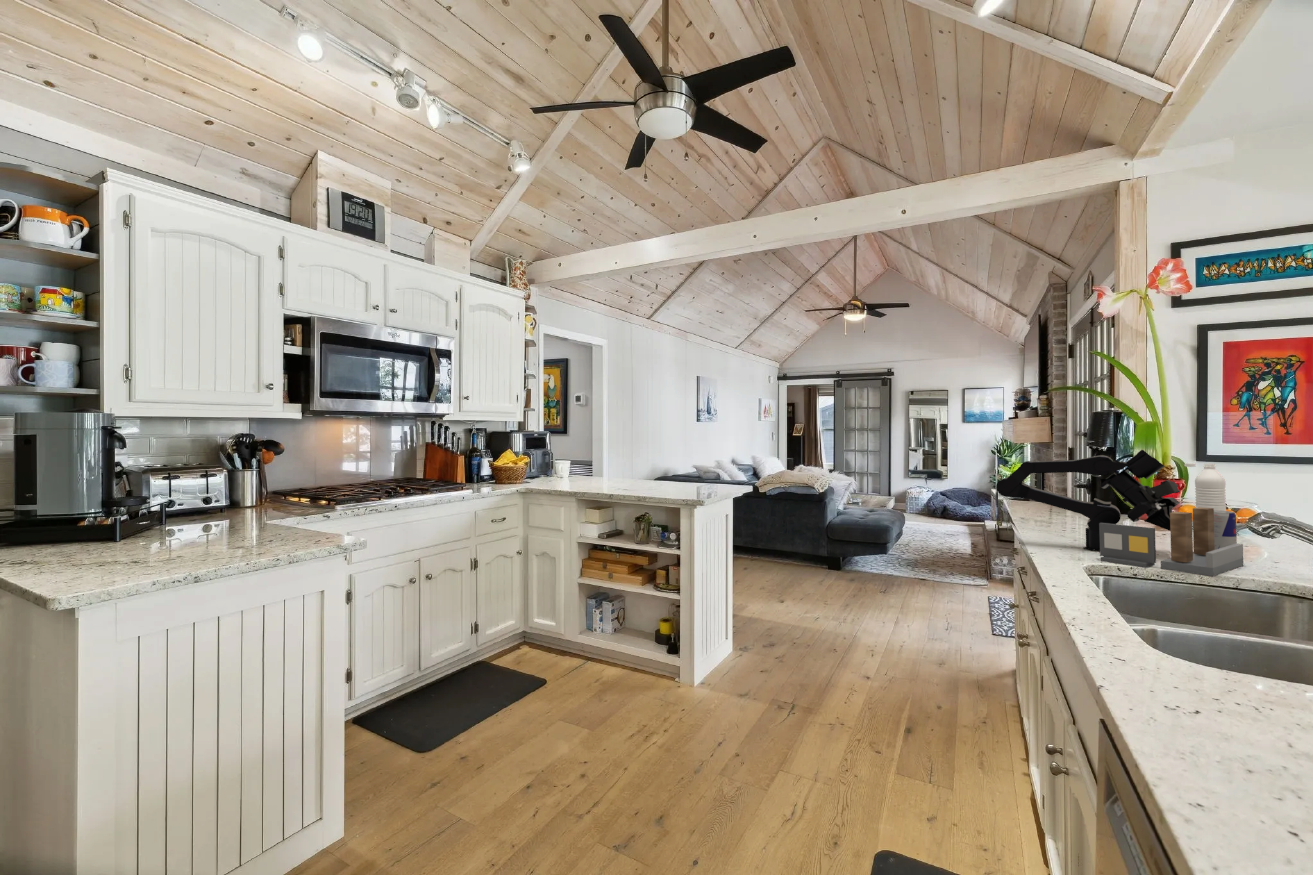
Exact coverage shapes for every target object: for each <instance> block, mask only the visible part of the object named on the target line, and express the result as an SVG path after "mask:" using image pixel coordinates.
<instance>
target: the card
mask: <svg viewBox="0 0 1313 875" xmlns="http://www.w3.org/2000/svg"><path fill="white" fill-rule="evenodd" d="M1099 533H1100V551H1099V556H1100V562H1105V563H1106V562H1107V563H1113V564H1119V565H1124V566H1125V565H1126V566H1132V567H1140V568H1145V569H1146V568H1149V567H1153V566H1155V564H1157V560H1156V559H1157V554H1156V552H1157V551H1156V550H1157V549H1156V546H1157V545H1156V528H1155V527H1146V526H1138V525H1137V526H1134V525H1128V524H1127V525H1126V524H1118V523H1117V524H1108V523H1099Z"/></svg>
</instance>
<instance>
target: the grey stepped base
mask: <svg viewBox="0 0 1313 875" xmlns="http://www.w3.org/2000/svg"><path fill="white" fill-rule="evenodd" d="M1243 565H1244V544H1243V543H1236V544H1233V545H1230V546H1226V547H1223V548H1220V549H1217V550H1213V551H1210V552H1207V553H1206V555H1200V554H1194V551H1193V561H1190V562H1187V563H1186V562H1179V561H1172V560H1171V557H1169V558H1165V559H1162V560H1160V569H1161V570H1166V571H1167V570H1168V571H1175V572H1181V573H1187V574H1193V575H1202V576H1208V577H1215V576H1218V575H1221V574H1224V573H1227V572H1229V571H1228V570H1230V571H1232V570H1235V569H1238V568H1240V567H1243ZM1223 572H1224V573H1223Z"/></svg>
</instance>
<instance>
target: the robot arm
mask: <svg viewBox="0 0 1313 875" xmlns="http://www.w3.org/2000/svg"><path fill="white" fill-rule="evenodd" d="M1164 468H1165V465H1164V464H1163V463H1161V461H1159V460H1158V459H1157V458H1155V457H1154V456H1152V455H1150V454H1149V453H1147V451H1145V450H1144V449H1141V450H1139V451H1138V452H1137V453H1136V454H1135V455H1134V456H1132V457H1131V458H1130V459H1128V460H1127V461H1123V460H1121V461H1120V460H1115V459H1114V460H1113V459H1112V458H1111V457H1109V456H1107V455H1103V454H1101V455H1095V456H1089V457H1085V458H1080V459H1079V458H1078V459H1074V460H1073V459H1069V460H1068V459H1067V460H1043V461H1042V460H1041V461H1037V460H1036V461H1031V460H1028V461H1024V462H1021V464H1020V466H1019V467H1018V468H1016V469H1015V471H1013V472H1012V473H1011V474H1010V475H1009V476H1008V477H1004V478H1002V479H999V480H998V482H997V483H996V485H995V487H996V488H995V489H996V491H997V493H998V494H999V495H1000V496H1002V497H1007V498H1014V499H1025V500H1026V499H1027V500H1031V501H1033V502H1034V501H1035V502H1038V503H1041V504H1044V505H1048V506H1052V507H1055V508H1059V509H1061V510H1062V509H1063V510H1067V511H1070V512H1073V513H1076V514H1079V515H1082V516H1084V517H1086V518H1088V520H1087V523H1086V525H1087V527H1085V546H1083V548H1082V549H1084V550H1090V551H1097V552H1100V533H1099V523H1108V524H1118V523H1119V522H1120V520H1121V512H1120V509H1119V508H1118V507H1117V506H1116V505H1114V504H1112V501H1104V500H1101V499H1099V498H1096V497H1095V498H1094V499H1093V501H1084V500H1080V499H1077V498H1073V497H1070V496H1065V495H1062V494H1059V493H1056V492H1055V493H1054V492H1050V491H1048V490H1044V489H1041V488H1036V487H1033V486H1030V485H1029V484H1028V483H1025V480H1026V479H1027V478H1028V477H1029V476H1030V475H1032V474H1056V473H1057V474H1059V473H1061V474H1062V473H1065V474H1066V473H1079V474H1086V475H1093V476H1103V477H1104V476H1107V475H1109V476H1108V477H1106V478H1099V482H1100V484H1099V487H1100V488H1102V489H1107V488H1108V487H1111V488H1112V489H1113V490H1114V491H1115V492H1116V493H1117V494H1118V495H1119V496H1121V497H1122V501H1123V502H1124V503H1129V504H1130V505H1131V506H1132V507H1133V508H1131V509H1130V510H1128V511H1127V518H1128V519H1130V521H1132V522H1133V523H1135V522H1139V521H1140V518H1142V517H1143V516H1144V515H1146V518H1145V519H1144V522H1145V523H1147V524H1152V525H1153V526H1157V527H1160V528H1162V529H1165V530H1167V531H1169V532H1170V513H1173V509H1174V508H1175V507H1177V506H1178V505H1179V504H1180V501H1178V500H1177V499H1176V498H1175V497H1170V495H1172V494H1177V493H1178V494H1179V493H1180V492H1181V491H1180V489H1179V488H1178V487H1179V484H1177V483H1176V482H1175V481H1171V480H1169V479H1166V480H1165V481H1161V482H1160V484H1158V485H1153V486H1151V487H1150V486H1149V485H1143V484H1142V483H1141V482H1139V480H1141V479H1143V478H1144V479H1145V480H1148V479H1150V477H1152V476H1153V475H1154V474H1156V473H1157V472H1159V471H1160V470H1162V469H1164ZM1113 471H1114V472H1113ZM1115 471H1119V472H1118V473H1116V472H1115ZM1112 472H1113V473H1112ZM1129 472H1130V473H1131V474H1132V475H1133V476H1135V477H1136V478H1137V479H1139V480H1137V479H1136V478H1134V477H1133V476H1132V475H1131V474H1130V473H1129ZM1110 474H1111V475H1110ZM1168 495H1169V497H1168ZM1166 496H1167V497H1166Z"/></svg>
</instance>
